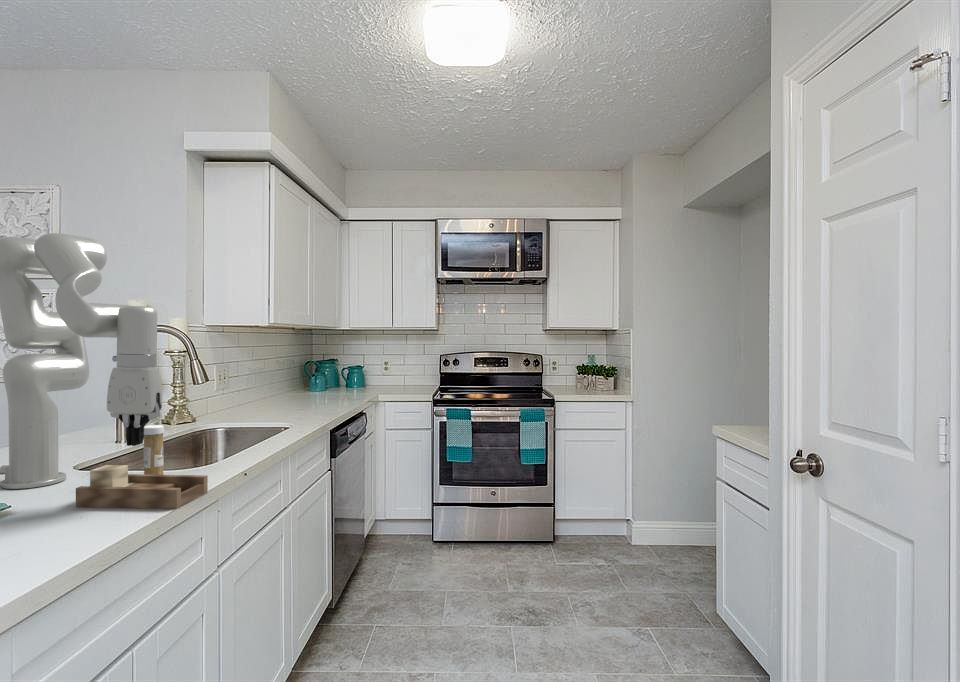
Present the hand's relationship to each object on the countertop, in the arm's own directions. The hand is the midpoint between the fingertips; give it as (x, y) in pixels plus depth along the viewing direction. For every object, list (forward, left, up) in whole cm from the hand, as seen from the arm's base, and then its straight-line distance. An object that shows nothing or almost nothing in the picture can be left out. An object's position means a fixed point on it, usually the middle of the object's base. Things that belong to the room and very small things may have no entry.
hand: (134, 444), depth 124 cm
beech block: (-5, -1, -10) cm, 11 cm away
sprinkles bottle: (-7, +17, -12) cm, 22 cm away
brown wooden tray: (+2, 0, -12) cm, 12 cm away
